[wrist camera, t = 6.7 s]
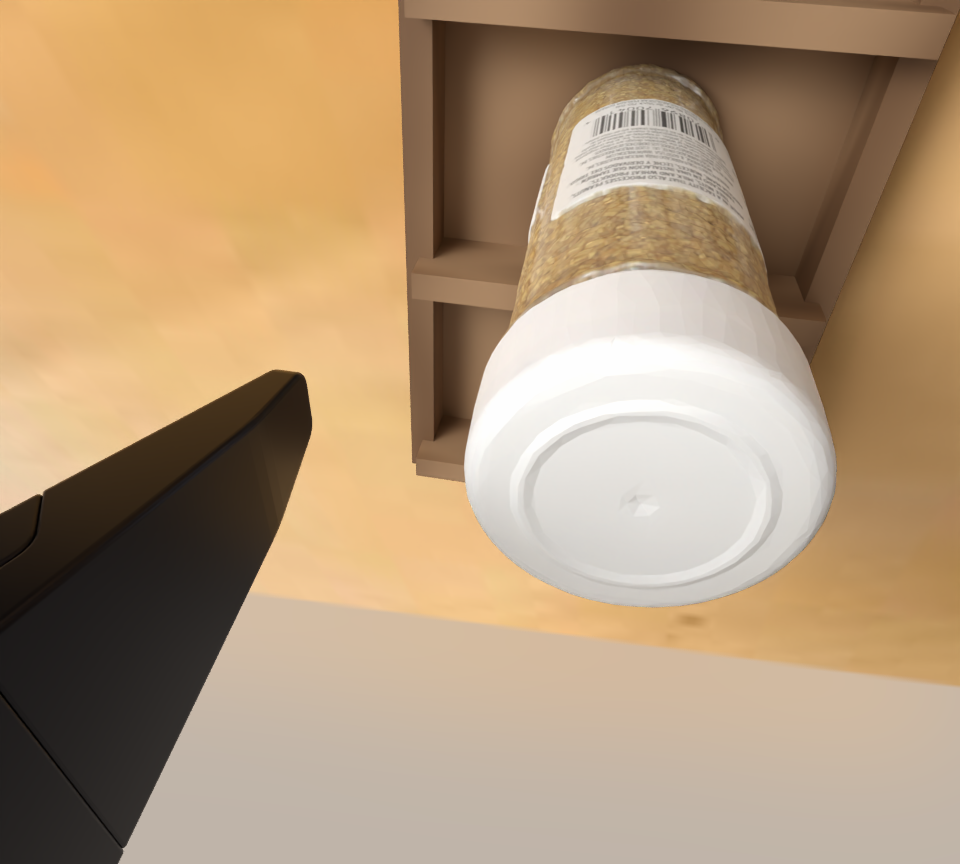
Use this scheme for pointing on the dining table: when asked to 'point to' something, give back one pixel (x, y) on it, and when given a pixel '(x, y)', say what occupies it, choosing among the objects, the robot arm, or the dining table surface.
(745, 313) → the sprinkles bottle
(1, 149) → the dining table surface
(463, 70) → the rack
